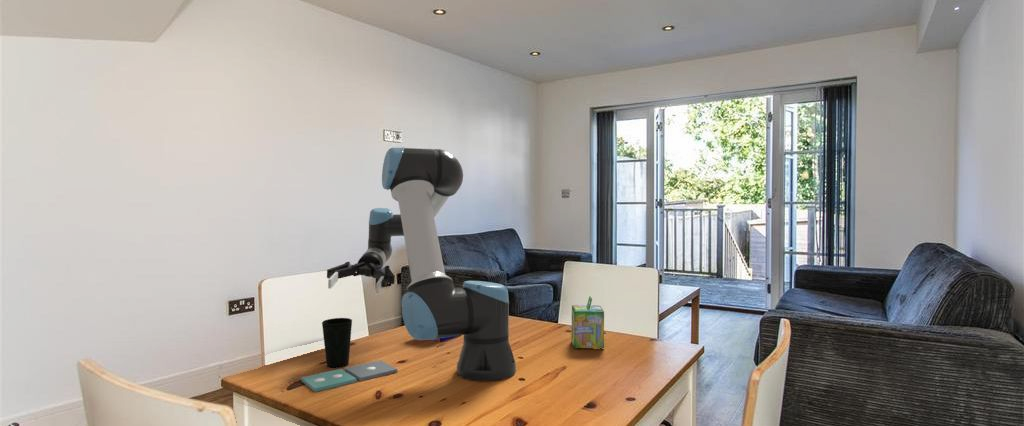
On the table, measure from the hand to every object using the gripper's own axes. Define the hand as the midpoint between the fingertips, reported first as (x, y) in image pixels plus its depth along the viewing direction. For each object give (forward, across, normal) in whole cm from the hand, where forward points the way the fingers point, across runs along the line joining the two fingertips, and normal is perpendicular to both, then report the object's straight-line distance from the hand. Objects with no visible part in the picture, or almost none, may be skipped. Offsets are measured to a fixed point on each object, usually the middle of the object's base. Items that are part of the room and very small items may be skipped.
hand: (353, 286), depth 145 cm
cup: (+13, 0, -18) cm, 22 cm away
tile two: (+25, -2, -15) cm, 29 cm away
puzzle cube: (-15, -25, -22) cm, 36 cm away
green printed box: (-3, -71, -14) cm, 72 cm away
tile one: (+18, -10, -16) cm, 26 cm away
